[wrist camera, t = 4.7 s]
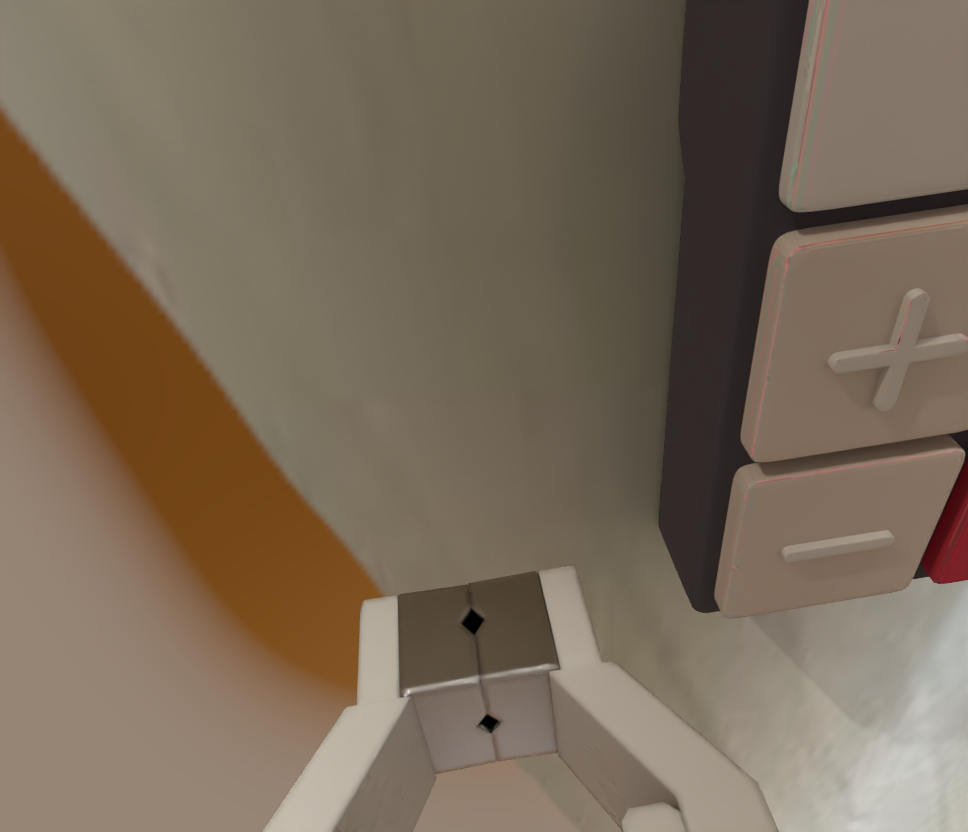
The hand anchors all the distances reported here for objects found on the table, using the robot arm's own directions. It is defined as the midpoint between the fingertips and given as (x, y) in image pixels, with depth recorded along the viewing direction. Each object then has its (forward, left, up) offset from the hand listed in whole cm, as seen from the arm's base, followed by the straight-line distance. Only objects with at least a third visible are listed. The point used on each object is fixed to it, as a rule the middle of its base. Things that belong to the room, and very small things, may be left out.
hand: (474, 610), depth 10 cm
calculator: (0, +11, -8) cm, 13 cm away
